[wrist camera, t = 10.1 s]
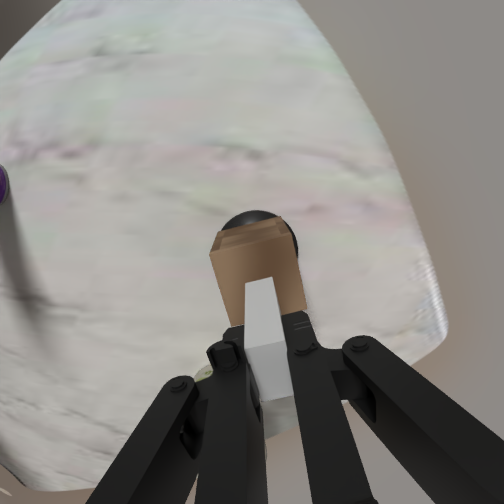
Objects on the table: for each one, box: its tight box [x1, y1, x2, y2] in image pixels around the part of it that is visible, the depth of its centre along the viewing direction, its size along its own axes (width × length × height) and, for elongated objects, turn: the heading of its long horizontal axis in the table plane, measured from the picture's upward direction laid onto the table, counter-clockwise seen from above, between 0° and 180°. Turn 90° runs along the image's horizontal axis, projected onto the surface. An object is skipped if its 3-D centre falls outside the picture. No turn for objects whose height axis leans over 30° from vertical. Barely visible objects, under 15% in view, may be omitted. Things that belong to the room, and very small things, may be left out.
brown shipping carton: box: [209, 216, 307, 327], centre depth 24 cm, size 5×5×7 cm
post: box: [221, 210, 298, 257], centre depth 25 cm, size 7×7×7 cm
